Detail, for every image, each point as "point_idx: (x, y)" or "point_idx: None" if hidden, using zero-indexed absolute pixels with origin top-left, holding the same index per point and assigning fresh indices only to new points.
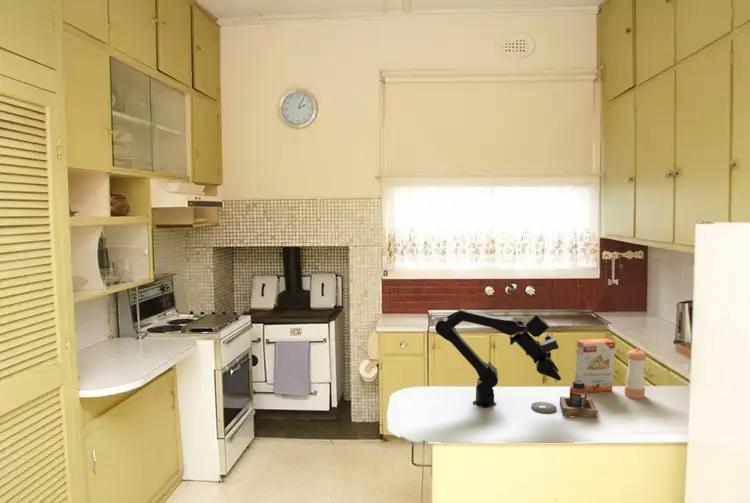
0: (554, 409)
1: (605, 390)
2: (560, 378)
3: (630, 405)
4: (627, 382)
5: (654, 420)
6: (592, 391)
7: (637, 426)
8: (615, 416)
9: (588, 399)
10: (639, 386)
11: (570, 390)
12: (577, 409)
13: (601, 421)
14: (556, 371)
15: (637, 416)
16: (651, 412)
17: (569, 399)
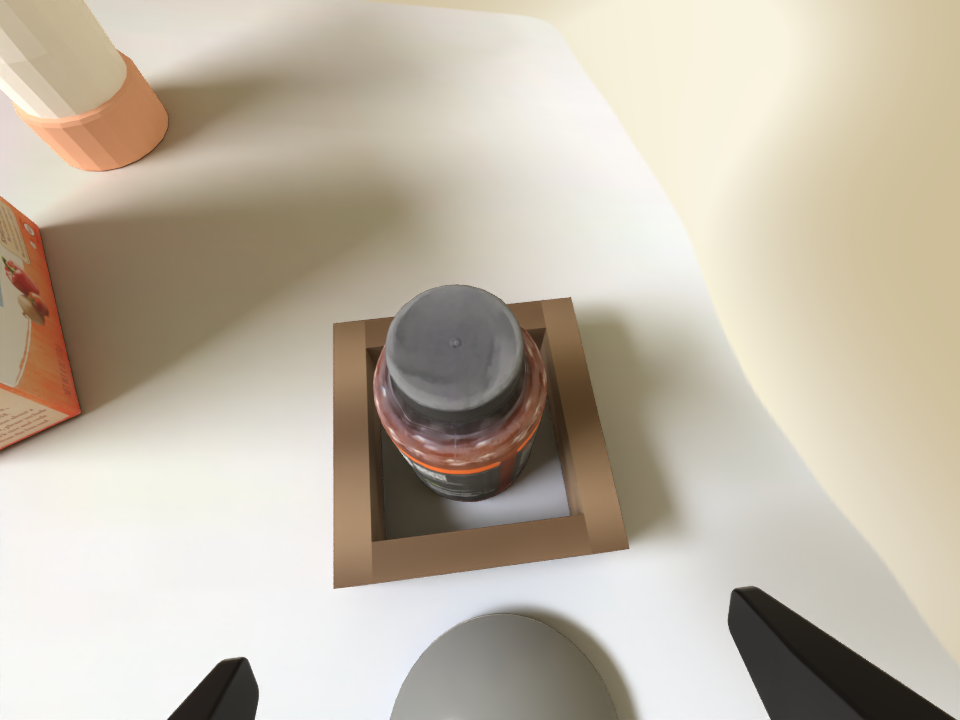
0: (545, 631)
1: (42, 257)
2: (766, 602)
3: (282, 157)
4: (55, 84)
5: (469, 85)
6: (61, 335)
7: (581, 149)
8: (480, 231)
9: (355, 346)
10: (113, 46)
11: (489, 465)
12: (600, 429)
13: (593, 302)
14: (253, 706)
15: (440, 140)
16: (363, 87)
17: (370, 496)
